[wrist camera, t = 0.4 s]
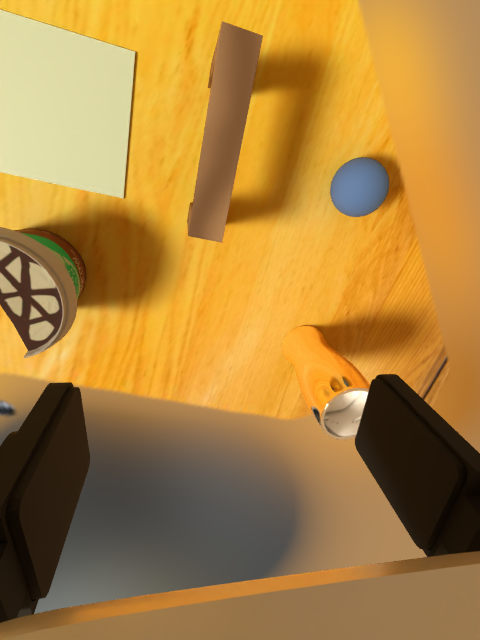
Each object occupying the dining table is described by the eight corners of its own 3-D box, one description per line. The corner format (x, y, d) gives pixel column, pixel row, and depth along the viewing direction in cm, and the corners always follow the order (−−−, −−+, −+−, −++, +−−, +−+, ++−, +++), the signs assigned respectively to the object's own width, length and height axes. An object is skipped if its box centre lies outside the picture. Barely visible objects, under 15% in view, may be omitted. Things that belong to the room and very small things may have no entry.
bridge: (187, 221, 37) (188, 235, 28) (211, 63, 32) (221, 21, 23) (213, 226, 38) (222, 242, 29) (241, 73, 32) (262, 35, 23)
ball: (331, 152, 36) (357, 148, 31) (378, 165, 38) (410, 164, 32) (315, 207, 39) (336, 213, 33) (360, 218, 40) (387, 225, 35)
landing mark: (-26, 2, 27) (-27, 1, 27) (135, 52, 30) (135, 51, 30) (-15, 168, 32) (-16, 168, 32) (123, 198, 35) (123, 198, 35)
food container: (112, 307, 40) (92, 347, 31) (62, 319, 40) (26, 363, 30) (71, 203, 35) (31, 213, 26) (12, 215, 34) (-49, 231, 25)
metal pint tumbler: (323, 363, 48) (378, 437, 35) (277, 367, 47) (315, 445, 34) (328, 320, 45) (390, 383, 32) (280, 324, 44) (322, 390, 31)
